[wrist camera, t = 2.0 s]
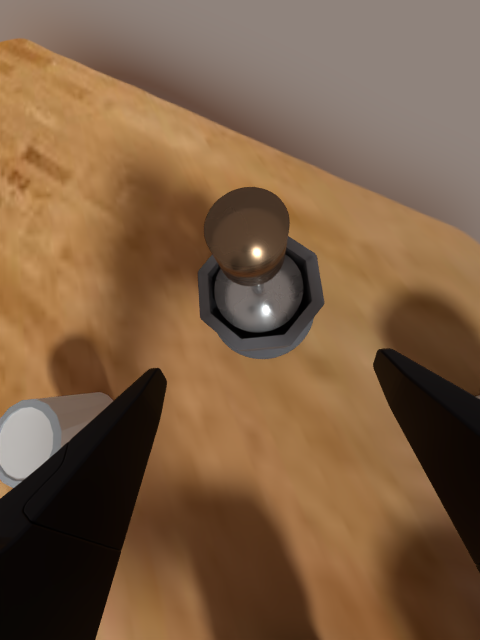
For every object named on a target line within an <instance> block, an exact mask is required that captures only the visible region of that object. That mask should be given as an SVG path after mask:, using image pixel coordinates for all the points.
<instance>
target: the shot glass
mask: <svg viewBox="0 0 480 640" xmlns="http://www.w3.org/2000/svg"><path fill="white" fill-rule="evenodd" d="M112 402H113V400H112V399H111V398H110V397H109V396H108V395H107V394H104V393H101V392H95V393H86V394H77V395H67V396H58V397H49V398H40V399H30V400H22V401H20V402H18V403H17V404H15V405H13V406H12V407H10V408H9V409H8V410H7V411H6V412H5V414H4V415H3V416H2V417H1V419H0V479H1V481H2V482H3V483H5V484H6V485H8V486H10V487H12V488H14V487H15V486H17V485H18V484H19V483H20V482H22V481H23V480H24V479H25V478H26V477H28V476H29V475H30V474H31V473H32V472H34V471H35V470H36V469H37V468H38V467H40V466H41V465H42V464H43V463H44V462H45V461H47V460H48V459H49V458H50V457H51V456H52V455H53V454H55V453H56V452H57V451H58V450H59V449H60V448H61V447H63V446H64V445H65V444H66V443H67V442H69V441H70V439H72V438H73V437H74V436H75V435H76V434H77V433H78V432H79V431H80V430H82V429H83V428H84V427H85V426H86V425H87V424H88V423H89V422H91V421H92V420H93V419H94V418H95V417H96V416H97V415H98V414H99V413H101V412H102V411H103V410H104V409H105V408H106V407H107V406H108V405H110V404H111V403H112Z"/></svg>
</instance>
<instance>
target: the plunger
mask: <svg viewBox="0 0 480 640" xmlns="http://www.w3.org/2000/svg"><path fill="white" fill-rule="evenodd" d="M289 224H290V222H289V214H288V211H287V208H286V207H285V205H284V203H283V202H282V201H281V199H280V198H279V197H277V196H276V195H275V194H273V193H272V192H270V191H268V190H265V189H262V188H257V187H245V188H240V189H236V190H233V191H231V192H229V193H227V194H225V195H224V196H222V197H221V198H220V199H218V200H217V201H216V202H215V203H214V205H213V206H212V207H211V209H210V210H209V212H208V214H207V217H206V220H205V224H204V236H205V240H206V243H207V245H208V247H209V249H210V251H211V252H212V254H213V256H214V258H215V259H216V261H217V263H218V265H219V266H220V268H221V269H220V271H219V272H218V275H217V277H216V281H215V287H214V294H215V300H216V304H217V306H218V309H219V310H220V312H221V314H222V315H223V316H224V317H225V319H226V320H228V321H229V322H230V323H231V324H232V325H234V326H235V327H237V328H239V329H241V330H244V331H248V332H254V333H263V332H269V331H272V330H275V329H277V328H279V327H281V326H282V325H284V324H285V323H286V322H288V321H289V320H290V319H291V318H292V317H293V315H294V314H295V312H296V311H297V309H298V307H299V305H300V303H301V300H302V296H303V280H302V276H301V273H300V270H299V269H298V267H297V265H296V264H295V263H294V261H293V260H292V259H291V258H290V257H289V256H287V255H286V254H285V253H286V246H287V239H288V233H289Z"/></svg>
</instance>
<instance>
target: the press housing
mask: <svg viewBox="0 0 480 640" xmlns="http://www.w3.org/2000/svg"><path fill="white" fill-rule="evenodd" d="M285 254H286V255H287V256H289V257H290V258H291V259H292V260H293V261H294V263H295V264H296V265H297V267H298V269H299V270H300V273H301V276H302V280H303V296H302V300H301V303H300V305H299V307H298V309H297V311H296V312H295V314H294V315H293V317H292V318H291V319H290V320H289V321H288V322H286V323H285V324H284V325H282V326H281V327H279V328H277V329H275V330H272V331H269V332H263V333H254V332H248V331H244V330H241V329H239V328H237V327H235V326H234V325H232V324H231V323H230V322H229V321H228V320H226V319H225V317H224V316H223V315H222V314H221V312H220V310H219V309H218V306H217V304H216V300H215V294H214V287H215V281H216V277H217V275H218V272H219V271H220V269H221V268H220V266H219V265H218V263H217V261H216V259H215V258H214V256H213V254H212V255H211V257H210V258H209V259H208V260H207V261H206V263H205V264H204V265H203V266H202V267H201V268H200V270H199V271H198V288H199V307H200V318H201V320H203V321H204V322H205V323H206V324H207V325H208V326H210V327H211V328H212V329H213V330H214V331H215V332H217V333H218V335H219V337H220V338H221V339H222V341H223V342H224V343H225V344H226V345H227V346H228V347H229V348H231V349H232V350H233V351H235V352H237V353H239V354H241V355H243V356H246V357H250V358H255V359H269V358H275V357H278V356H281V355H283V354H286V353H288V352H289V351H291V350H293V349H294V348H295V347H296V346H298V345H299V344H300V343H301V342H302V341H303V339H304V338H305V337H306V335H307V334H308V332H309V330H310V328H311V325H312V323H313V319H314V316H315V315H316V314H317V313H318V311H319V310H320V309H321V308H322V306H323V305H324V297H323V291H322V285H321V279H320V273H319V267H318V261H317V255H315V253H313V252H312V251H310V250H309V249H307V248H306V247H304V246H303V245H301V244H300V243H298V242H296V241H295V240H293V239H292V238H290V237H289V236H288V239H287V246H286V253H285Z"/></svg>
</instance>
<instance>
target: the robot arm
mask: <svg viewBox="0 0 480 640" xmlns="http://www.w3.org/2000/svg"><path fill="white" fill-rule="evenodd" d="M373 367H374V370H375V373H376V375H377V378H378V380H379V383H380V385H381V388H382V390H383V392H384V395H385V397H386V400H387V402H388V404H389V406H390V408H391V410H392V412H393V414H394V416H395V418H396V420H397V422H398V423H399V425H400V427H401V429H402V431H403V433H404V434H405V436H406V438H407V440H408V442H409V444H410V445H411V447H412V449H413V451H414V453H415V455H416V456H417V458H418V460H419V462H420V464H421V466H422V467H423V469H424V471H425V473H426V475H427V477H428V478H429V480H430V482H431V484H432V486H433V488H434V489H435V491H436V493H437V495H438V497H439V499H440V500H441V502H442V504H443V506H444V508H445V510H446V512H447V513H448V515H449V517H450V519H451V521H452V523H453V524H454V526H455V528H456V530H457V532H458V534H459V535H460V537H461V539H462V541H463V543H464V545H465V546H466V548H467V550H468V552H469V554H470V556H471V557H472V559H473V561H474V563H475V564H476V567H477V569H478V571H479V573H480V399H479V398H477V397H475V396H474V395H472V394H470V393H468V392H467V391H465V390H463V389H461V388H460V387H458V386H456V385H454V384H453V383H451V382H449V381H447V380H446V379H444V378H442V377H440V376H439V375H437V374H435V373H433V372H432V371H430V370H428V369H426V368H425V367H423V366H421V365H419V364H418V363H416V362H414V361H412V360H411V359H409V358H407V357H405V356H404V355H402V354H400V353H398V352H397V351H395V350H393V349H391V348H386V349H379V350H378V351H377V353H376V357H375V360H374V363H373ZM166 386H167V380H166V378H165V376H164V375H163V373H162V371H161V370H160V369H159V368H151V369H149V370H148V371H146V372H145V373H144V374H143V375H142V376H141V377H140V378H139V379H137V380H136V381H135V382H134V383H133V384H132V385H131V386H130V387H129V388H127V389H126V390H125V391H124V392H123V393H122V394H121V395H120V396H118V397H117V398H116V399H115V400H114V401H113V402H112V403H111V404H110V405H108V406H107V407H106V408H105V409H104V410H103V411H102V412H101V413H99V414H98V415H97V416H96V417H95V418H94V419H93V420H92V421H91V422H89V423H88V424H87V425H86V426H85V427H84V428H83V429H82V430H80V431H79V432H78V433H77V434H76V435H75V436H74V437H73V438H72V439H70V441H69V442H67V443H66V444H65V445H64V446H63V447H61V448H60V449H59V450H58V451H57V452H56V453H55V454H53V455H52V456H51V457H50V458H49V459H48V460H47V461H45V462H44V463H43V464H42V465H41V466H40V467H38V468H37V469H36V470H35V471H34V472H32V473H31V474H30V475H29V476H28V477H26V478H25V479H24V480H23V481H22V482H20V483H19V484H18V485H17V486H15V487H14V488H13V489H12V490H11V491H9V492H8V493H7V494H6V495H4V496H3V497H2V498H1V499H0V640H95V639H96V635H97V632H98V628H99V625H100V622H101V618H102V615H103V612H104V608H105V605H106V601H107V598H108V595H109V591H110V588H111V585H112V581H113V578H114V574H115V571H116V568H117V564H118V561H119V557H120V554H121V550H122V547H123V543H124V540H125V537H126V533H127V530H128V526H129V523H130V520H131V516H132V513H133V510H134V506H135V503H136V499H137V496H138V493H139V489H140V486H141V482H142V479H143V476H144V472H145V469H146V466H147V462H148V459H149V455H150V452H151V449H152V445H153V442H154V438H155V435H156V432H157V428H158V425H159V421H160V417H161V413H162V408H163V402H164V397H165V392H166Z"/></svg>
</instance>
